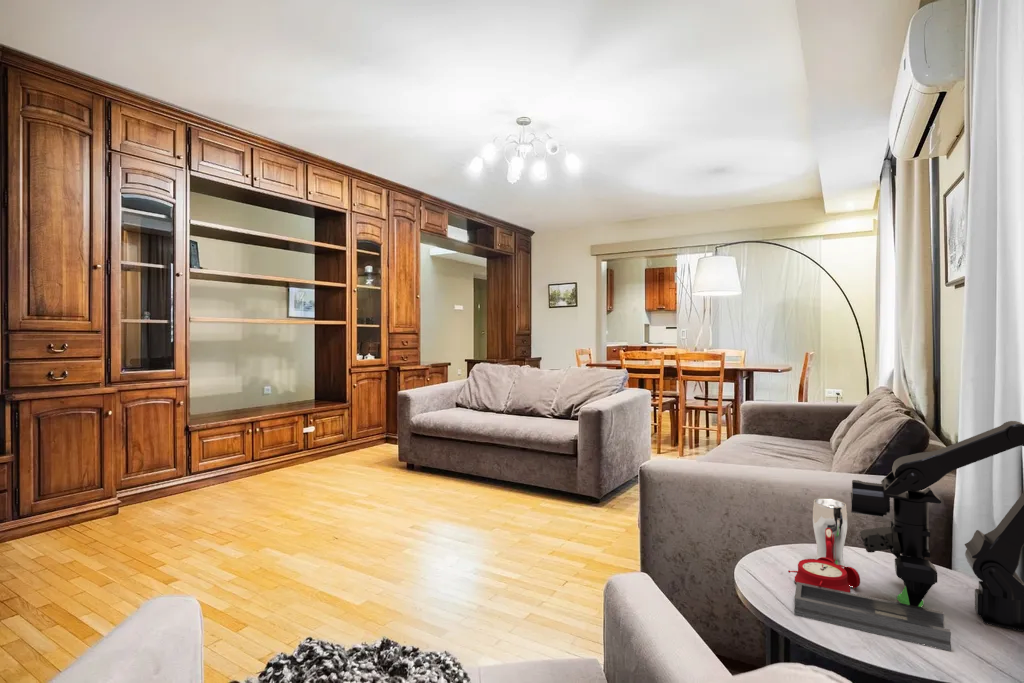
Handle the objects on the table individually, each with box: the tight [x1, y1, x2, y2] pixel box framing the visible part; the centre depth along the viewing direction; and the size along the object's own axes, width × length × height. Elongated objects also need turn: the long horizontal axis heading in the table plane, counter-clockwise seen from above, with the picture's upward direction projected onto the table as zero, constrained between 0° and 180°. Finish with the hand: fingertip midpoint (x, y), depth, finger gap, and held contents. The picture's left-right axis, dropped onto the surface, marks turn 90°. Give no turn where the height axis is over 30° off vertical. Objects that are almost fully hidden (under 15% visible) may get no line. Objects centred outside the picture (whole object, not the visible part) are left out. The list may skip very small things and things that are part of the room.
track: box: [794, 582, 952, 652], centre depth 101 cm, size 24×9×3 cm, turn 59°
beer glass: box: [812, 497, 848, 568], centre depth 124 cm, size 7×7×15 cm
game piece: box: [896, 586, 924, 607], centre depth 108 cm, size 4×4×6 cm
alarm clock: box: [787, 557, 861, 593], centre depth 115 cm, size 10×6×15 cm
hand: (910, 596), depth 108 cm, fingers open, 9 cm apart
